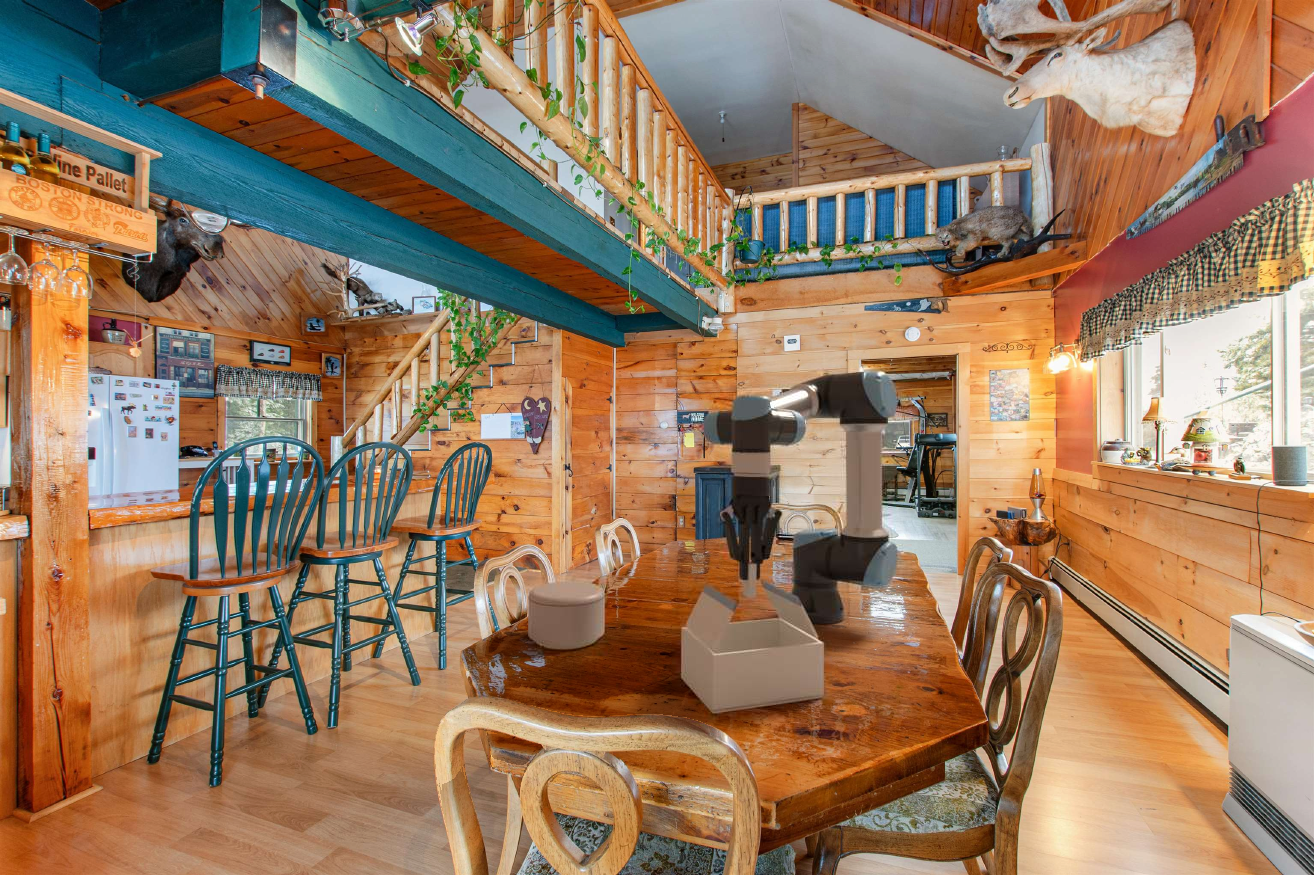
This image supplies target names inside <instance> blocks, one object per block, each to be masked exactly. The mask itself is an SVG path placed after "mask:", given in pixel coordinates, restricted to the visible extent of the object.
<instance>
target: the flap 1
mask: <svg viewBox="0 0 1314 875" xmlns="http://www.w3.org/2000/svg"><path fill="white" fill-rule="evenodd" d="M738 605H739V603H738V602H736V601H735V600H733V599H731V598H730V597H729V596H726V595H725V594H723V593H722V592H720V591H718V590H716V589H715V588H713V587H712V586H710V585H709V584H707V583H705V585H704V587H703V588H702V591H701V593H700V595H699V597H698V599H697V601H696V603H695V604H694V607H693V609H692V611H691V613H690V615H689V616H688V618H687V621H686V623H685V626H686V627H689V628H690V629H691V630H692V631H694V632H695V633H696V634H697V635H698V636H699V637H701V638H702V639H703V640H704V641H705V642H706V643H708V644H709V645H710V646H711V647H712V648H713V649H715V650H716V649H717V646H718V644H719V642H720V640H721V638H722V636H723V634H724V632H725V630H726V628H727V626H728V624H729V623H731V620H732V618H733V616H734V613H735V611H736V610H737V607H738Z"/></svg>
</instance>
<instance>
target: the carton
mask: <svg viewBox="0 0 1314 875" xmlns="http://www.w3.org/2000/svg"><path fill="white" fill-rule="evenodd" d="M680 633H681V635H680V636H681V643H680V644H681V645H680V646H681V649H680V650H681V651H680V654H681V657H680V658H681V659H680V660H681V662H680V664H681V667H680V672H681V673H680V677H681V679H682V680H683V682H684V683H685V684H686V685H687V686H688V687H689V688H690V689H691V691H692V692H693V693H694V694H695V695H696V697H698V699H700V701H701V702H702V703H703V704H704V705H705V706H706V708H707V709H708V710H709V711H710V712H711V714H720V713H726V712H732V711H739V710H746V709H755V708H759V707H760V708H762V707H766V706H767V707H768V706H774V705H776V706H777V705H782V704H788V703H795V702H801V701H802V702H803V701H807V700H808V701H809V700H815V699H816V700H817V699H822V698H825V697H824V696H825V695H824V694H825V693H824V691H825V690H824V689H825V685H824V682H825V668H824V667H825V665H824V664H825V642H823V641H821V640H819V639H818V638H817V639H816V638H814V637H813V636H811V635H809V634H808V633H806V632H804V631H802V630H801V629H799V628H797V627H795V626H794V625H792V624H790V623H788V622H787V621H785V620H783V619H781V618H780V617H777V618H766V619H765V618H764V619H757V620H755V619H754V620H753V619H752V620H745V621H734V622H729V624H728V626H727V628H726V630H725V632H724V634H723V636H722V638H721V640H720V642H719V644H718V646H717V649H716V650H715V649H713V648H712V647H711V646H710V645H709V644H708V643H706V642H705V641H704V640H703V639H702V638H701V637H699V636H698V635H697V634H696V633H695V632H694V631H692V630H691V629H690V628H689V627H688V626H683V627H682V626H681V632H680Z"/></svg>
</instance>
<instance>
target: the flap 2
mask: <svg viewBox="0 0 1314 875" xmlns="http://www.w3.org/2000/svg"><path fill="white" fill-rule="evenodd" d="M760 584H761V585H762V587H763V589H764V591H765V593H766V595H767V597H768V599H769V601H770V603H771V605H772V607H773V608H774V611H775V612H776V615H777V618H781V619H783V620H785V621H786V622H788V623H790V624H792V625H793V626H795V627H797V628H799V629H800V630H802V631H804V632H806V633H807V634H809V635H811V636H813V637H814V638H816V639H818V638H819V635H818V633H817V631H816V629H815V627H814V625H813V623H811V621H810V619H809V617H808V615H807V613H806V611H805V609H804V607H803V605H802V603H801V601H800V599H799V597H797V596H795V595H793V594H791V592H789V591H786V590H785V589H783V588H780V587H778V586H776V585H774V584H772V583H770V582H768V581H766V580H764V579H762V580H760Z"/></svg>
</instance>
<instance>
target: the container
mask: <svg viewBox="0 0 1314 875" xmlns="http://www.w3.org/2000/svg"><path fill="white" fill-rule="evenodd" d="M605 597H606V594H605V591H604V589H603V588H602V587H601V586H599V585H598V584H595V583H592V582H587V581H572V580H570V581H568V580H567V581H566V580H565V581H555V582H548V583H545V584H544V583H543V584H541V585H538V586H535V587H534V588H532V589H531V590H530V592H529V594H528V597H527V598H528V613H527V614H528V623H527V625H528V631H527V634H528V637H529V639H530V640H532V641H534V642H536V643H537V644H536V643H535V644H536V645H538V644H539V645H540V647H542V646H544V647H543V648H545V647H546V649H552V650H573V649H581V648H585V647H587V646H591V645H593V644H594V643H596V642H597V641H598V639H600V638H601V637H602V636H603V635H604V634H605V611H606V609H605V607H606V606H605V603H606V602H605V601H606V599H605ZM539 645H538V646H539Z"/></svg>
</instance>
